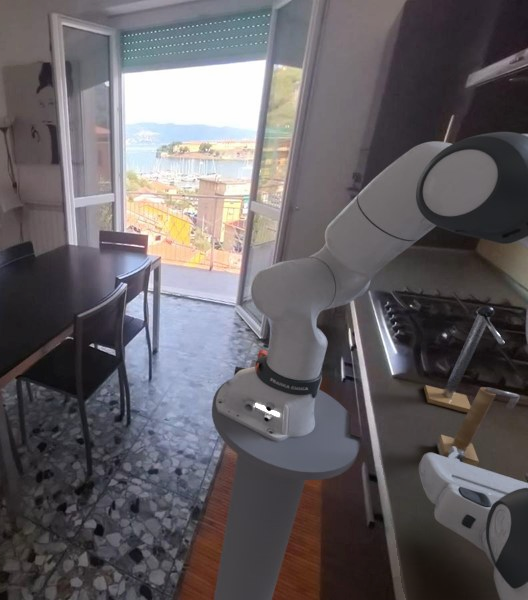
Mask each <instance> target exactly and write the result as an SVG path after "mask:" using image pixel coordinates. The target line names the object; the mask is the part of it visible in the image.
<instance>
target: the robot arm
mask: <svg viewBox="0 0 528 600" xmlns="http://www.w3.org/2000/svg"><path fill="white" fill-rule="evenodd" d="M436 227H438V228H441V229H443V230H446V231H448V232H451V233H455V234H458V235H461V236H467V237H471V238H476V239H480V240H481V239H482V240H486V241H489V242H494V243H497V244H502V245H509V244H513V243H515V242H516V243H519V244H520V245H522V246H523V247H524V248H525V249H526V250H527V251H528V133H519V132H513V131H496V132H495V131H494V132H488V133H481V134H476V135H473V136H470V137H466V138H463V139H460V140H459V141H456V142H454V143H450V142H447V141H439V140H438V141H437V140H434V141H426V142H423V143H420V144H417V145H415V146H413V147H412V148H410V149H409V150H408V151H406V152H405V153H403V154H401V156H399V157H398V158H397V159H395V160H394V161H393V162H392V163H391V164H389V165H388V166H387V167H386V168H384V169H383V170H382V171H381V172H379V174H377V175H375V177H374V178H373V179H372V180H371V181H369V183H367V185H366V186H364V187H363V188H362V190H360V192H359V193H358V194H357V195H355V197H354V198H352V199H351V200H350V202H349V203H348V204H347V205H346V206H345V207H344V208H343V209H342V210H341V211H340V212H339V213H338V214H337V216H335V217H334V219H332V220H331V221H330V223H328V225H327V227H326V228H325V232H324V241H325V243H324V245H323V247H322V248H321V249H320V250H318V251H317V252H315V253H314V254H311V255H309V256H307V257H302V258H296V259H291V260H284V261H279V262H276V263H274V264H271V265H270V266H267V267H266V268H263V269H262V270H259V271H258V272H257V273H256V274H255V275H254V277H253V279H252V281H251V285H250V296H251V300H252V304H253V305H254V307H255V308H256V309H257V310H258V312H259V313H260V314H261V315H262V316H264V317H266V319H267V321H268V324H269V331H270V332H269V334H270V336H269V341H268V348H267V350H266V349H263V348H262V349H260V350H259V351H258V353H257V360H256V362H255V366H252V367H247V368H245V367H241V366H235V368H234V375H233V377H232V378H231V380H230V379H229V380H230V381H228V380H227V381H228V382H227V381H225V382H226V383H225V382H224V383H225V384H224V383H223V384H224V385H223V386H222V387H221V389H220V390H219V392H218V395H217V398H216V409H217V411H218V412H219V413H221V414H223V415H225V416H226V417H228V418H230V419H232V420H234V421H236V422H238V423H240V424H242V425H244V426H246V427H248V428H250V429H252V430H254V431H256V432H258V433H260V434H262V435H264V436H265V437H267V438H269V439H271V440H273V441H276V442H279V441H283V440H285V439H287V438H291V437H301V436H305V435H307V434H309V433H311V432H312V431H313V429H314V427H315V417H314V404H315V397H316V395H317V393H318V391H319V390H320V387H321V384H322V380H323V371H322V368H323V365H324V360H325V356H326V352H327V350H328V349H327V348H328V344H329V343H328V339H327V337H326V335H325V334H324V332H323V331H322V330H321V329H320V328H319V327H318V325H317V320H318V318H319V315H320V313H321V312H322V311H327V310H329V309H334V308H337V307H341V306H345V305H347V304H350V303H351V302H353V301H354V300H357V299H358V298H360V297H361V296H363V295H365V293H366V292H367V291H368V290H369V287H370V285H371V280H372V279H373V278H374V277H375V275H376V274H377V273H379V271H380V270H382V269H383V268H384V267H385V266H386V265H387V264H389V263H390V262H391V261H393V260H394V259H396V258H397V257H398V256H399V255H401V254H402V253H403V252H404V251H406V250H407V249H409V248H410V247H411V246H412V245H414V244H415V243H416V242H417V241H419V240H420V239H421V238H423V237H425V235H427V234H428V233H430V232H431V231H432V230H433V229H434V228H436ZM525 313H526V315H525V339H526V345H527V346H528V304H527V306H526V312H525ZM464 457H465V452H464V450H463V449H461V448H458V447H455V446H451V448H450V450H449V456H448V457H444V456H441V455H439V453H438V454H437V453H435V452H432V451H431V452H430V451H429V452H426V453H424V454H423V455H422V457H421V459H420V461H419V464H418V474H419V478H420V482H421V486H422V488H423V491H424V494H425V495H426V497H427V498H428V500H429V501H430V502H431V503H432V504H433V505H435V506H434V511H433V516H434V519H435V520H436V522H437V523H439V524H440V525H442V526H443V527H445V528H447V529H448V530H451V531H452V532H454V533H456V534H457V535H459V536H461V537H462V538H464V539H465V540H466V541H468V542H470V543H471V544H472V545H474V546H476V547H477V548H478V549H480V550H481V551H483V552H484V553H485V555H486V557H487V559H488V560H489V562H490V563H491V565H492V566H493V583H494V585H495V588H496V592H497V595H498V597H499V600H528V472H526V473H525V474H524V479H525V480H526V482H525V481H522V480H520V479H516V478H513V477H510V476H507V475H503V474H500V473H497V472H495V471H491V470H488V469H485V468H482V467H479V466H473V465H469V464H466V463H463V462H462V461H463V458H464Z"/></svg>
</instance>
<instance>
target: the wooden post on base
mask: <svg viewBox="0 0 528 600" xmlns="http://www.w3.org/2000/svg"><path fill="white" fill-rule="evenodd" d="M478 389H479V390H478V392H477V393H476V395H475V398H474V399H473V401H472V403H471V404H470V406H471V407H470V409H469V411H468V413H466V415H465V417H464V420H463V421H462V423H461V425H460V427H459V429H458V431H457V433H456V435H455V437H452V436H449V435H448V436H447V435H444V434H440V435H439V437H438V439H437V440H438V443H437V446H436V447H437V451H438V455H441V456H444V457H448V456H449V450H450V448H451V446H455V447H458V448H461V449H463V450H464V452H465V457H464V458H463V461H462V462H463V463H466V464H469V465H473V466H476V467H478V464H479V462H480V461H479V458H478V456H477V453H476V450H475V447H474V444H473V443H472V441H473V439H474V437H475V436H476V433H477V431H478V430H479V428H480V426H481V424H482V422H483V420H484V418H485V417H486V415H487V413H488V412H489V409H490V407H491V405H492V403H493V401H494V400H495V398H496V396H497V395H498V396H502V397H505V398H510V399H509V400H508V402H507V404H506V406H505V407H506V409H507V410H514V409H515V406H516V405H517V403H518V402H519V400H520V397H521V396H520V395H519V394H517V393H514V392H510V391H505V390H502V389H498V388H493V387H488V386H487V387H485V386H481V387H480V388H478Z"/></svg>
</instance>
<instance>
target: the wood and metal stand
mask: <svg viewBox="0 0 528 600" xmlns="http://www.w3.org/2000/svg"><path fill="white" fill-rule="evenodd" d="M494 315H495V309H494V308H493V307H492V306H489V305H482V306H480V307H479V308H478V309H477V315H476V318H475V320H474V322H473V324H472V327H471V329H470V331H469V333H468V336H467V337H466V340H465V342H464V344H463V346H462V349H461V351H460V353H459V355H458V358H457V360H456V362H455V365H454V367H453V369H452V370H451V373H450V375H449V377H448V380H447V381H446V384H445V387H444V389H443V388H439V387H434V386H431V385H427V384H425V386H424V387H423V390H424V394H425V399H426V402H427V403H428V404H432V405H436V406H440V407H443V408H447V409H451V410H454V411H459V412H462V413H466V414H467V413H468V411H469V409H470V407H471V403H470V401H469V399H468V395H466V394H463V393H458V392H456V391H457V390H458V387H459V385H460V383H461V381H462V379H463V377H464V375H465V372H466V370H467V368H468V366H469V364H470V362H471V361H472V360H471V359H472V357H473V355H474V353H475V352H476V349H477V346H478V345H479V343H480V341H481V338H482V336H483V334H484V332H485V330H486V327H487V328H488V329H489V331H490V332H491V334H492V336H493V337H494V339H495V340H496V342H497V343H498V344H499V345H501V346H503V345H505V341H504V339H503V338H502V337H501V335H500V333H499V332H498V330H496V328H495V326H494V325H493V324H492V322H491V320H490V319H491V317H493V316H494Z"/></svg>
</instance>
